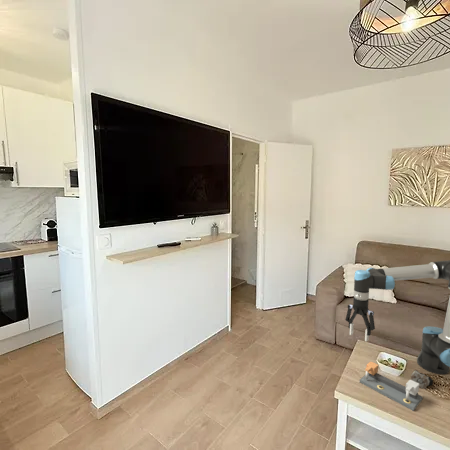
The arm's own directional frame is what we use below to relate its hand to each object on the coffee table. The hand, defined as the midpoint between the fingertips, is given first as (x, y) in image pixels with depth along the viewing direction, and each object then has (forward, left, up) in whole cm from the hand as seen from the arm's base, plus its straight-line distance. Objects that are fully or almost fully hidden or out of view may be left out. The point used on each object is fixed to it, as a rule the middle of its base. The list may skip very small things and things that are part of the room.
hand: (358, 337), depth 153 cm
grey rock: (-17, +26, -21) cm, 37 cm away
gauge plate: (+2, +18, -20) cm, 27 cm away
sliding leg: (+2, +8, -18) cm, 20 cm away
